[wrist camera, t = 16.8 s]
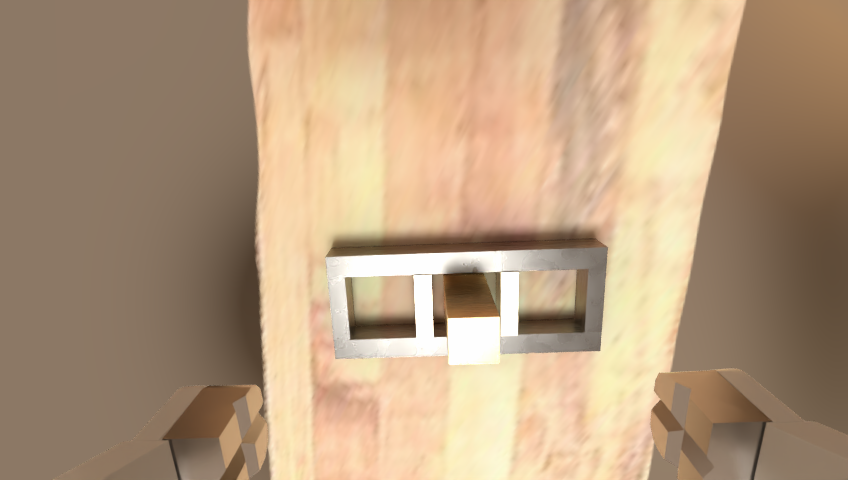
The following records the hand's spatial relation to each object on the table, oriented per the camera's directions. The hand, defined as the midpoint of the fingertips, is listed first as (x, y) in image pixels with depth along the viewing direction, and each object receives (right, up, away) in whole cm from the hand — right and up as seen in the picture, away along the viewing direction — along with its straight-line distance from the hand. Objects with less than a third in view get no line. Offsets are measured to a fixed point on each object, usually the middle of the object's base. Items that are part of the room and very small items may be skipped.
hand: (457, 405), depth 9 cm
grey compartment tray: (+3, -2, +35) cm, 35 cm away
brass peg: (+3, -2, +35) cm, 35 cm away
